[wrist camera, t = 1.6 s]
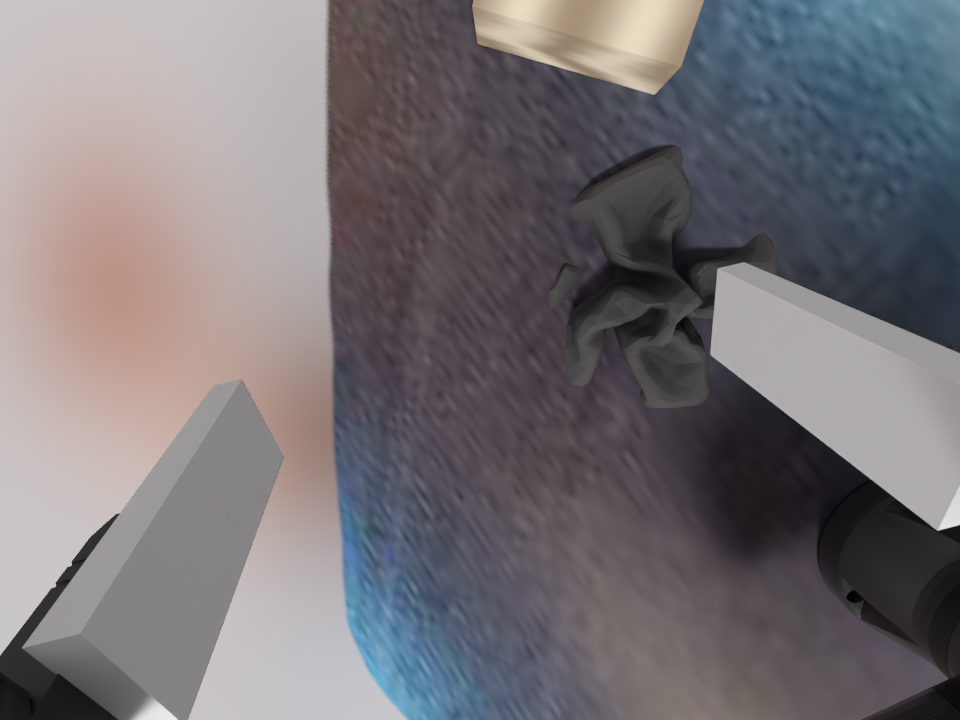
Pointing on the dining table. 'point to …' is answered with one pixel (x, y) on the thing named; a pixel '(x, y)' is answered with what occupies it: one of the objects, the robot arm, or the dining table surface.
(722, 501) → the dining table surface
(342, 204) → the dining table surface
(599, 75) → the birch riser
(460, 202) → the dining table surface
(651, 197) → the cloth
